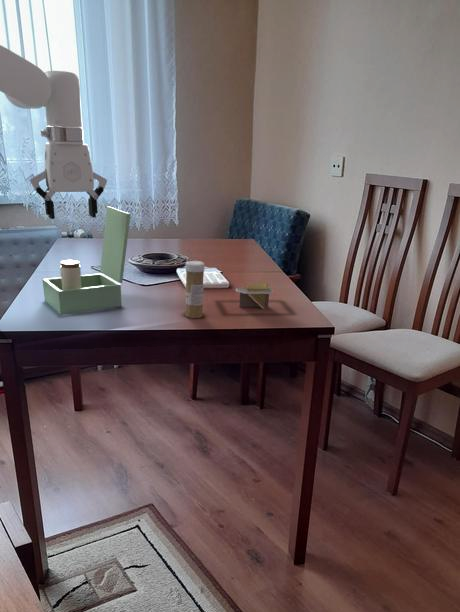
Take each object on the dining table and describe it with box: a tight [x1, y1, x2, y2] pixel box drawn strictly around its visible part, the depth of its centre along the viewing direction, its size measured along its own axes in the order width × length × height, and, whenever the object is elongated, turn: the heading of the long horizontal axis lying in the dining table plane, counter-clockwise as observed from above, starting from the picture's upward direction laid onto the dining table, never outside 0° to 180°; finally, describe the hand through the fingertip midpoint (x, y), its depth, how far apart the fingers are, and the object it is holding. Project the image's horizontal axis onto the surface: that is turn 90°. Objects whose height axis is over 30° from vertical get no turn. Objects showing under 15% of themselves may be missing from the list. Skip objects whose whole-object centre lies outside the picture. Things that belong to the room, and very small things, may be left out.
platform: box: [235, 282, 274, 310], centre depth 147 cm, size 12×18×7 cm, turn 100°
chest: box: [42, 272, 123, 315], centre depth 141 cm, size 16×13×6 cm
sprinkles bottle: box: [184, 260, 205, 319], centre depth 137 cm, size 5×5×14 cm
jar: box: [59, 259, 82, 290], centre depth 137 cm, size 5×5×11 cm
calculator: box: [176, 267, 230, 289], centre depth 171 cm, size 13×20×2 cm, turn 13°
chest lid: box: [99, 205, 131, 284], centre depth 140 cm, size 17×13×1 cm
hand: (72, 217), depth 130 cm, fingers open, 9 cm apart
